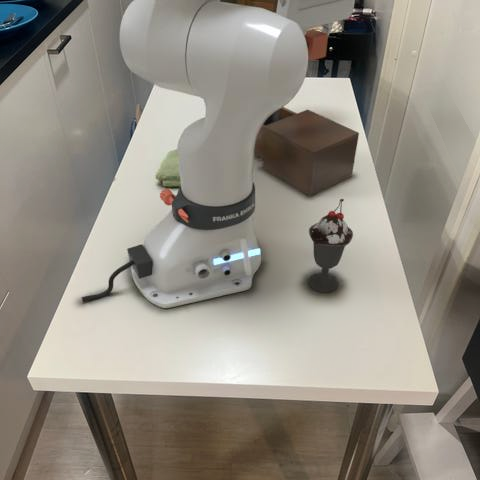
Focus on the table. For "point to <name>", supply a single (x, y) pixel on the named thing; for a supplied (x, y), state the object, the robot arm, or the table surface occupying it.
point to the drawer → (272, 118)
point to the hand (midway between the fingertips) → (312, 48)
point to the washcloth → (170, 170)
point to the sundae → (328, 248)
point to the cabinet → (309, 151)
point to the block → (316, 44)
